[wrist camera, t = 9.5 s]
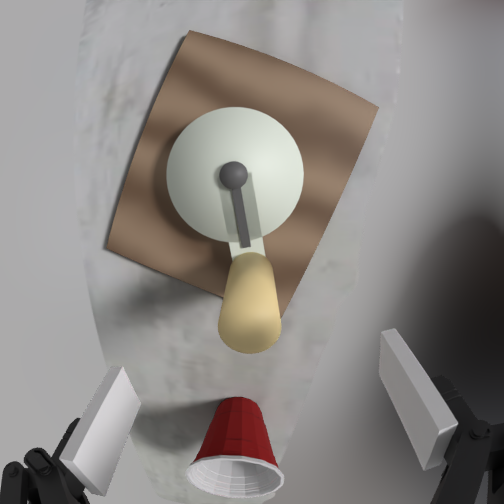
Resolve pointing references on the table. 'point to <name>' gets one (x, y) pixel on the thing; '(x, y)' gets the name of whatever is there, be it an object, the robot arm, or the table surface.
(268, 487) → the plastic cup
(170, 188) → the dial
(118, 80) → the table surface
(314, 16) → the table surface
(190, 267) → the base plate
